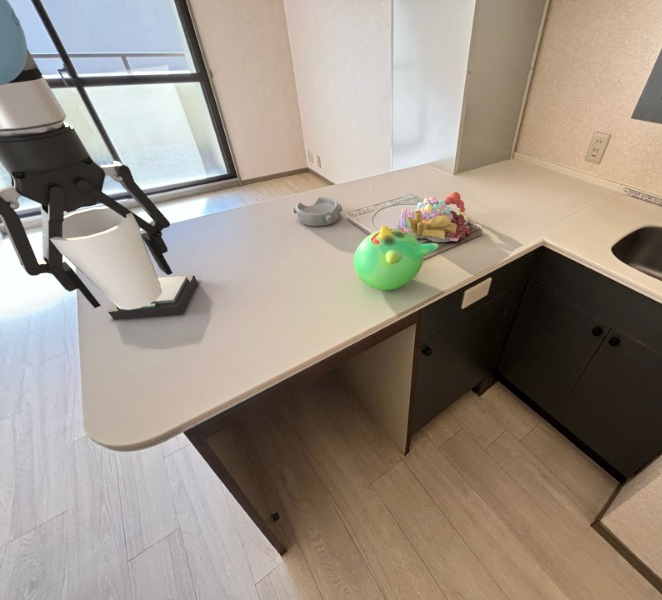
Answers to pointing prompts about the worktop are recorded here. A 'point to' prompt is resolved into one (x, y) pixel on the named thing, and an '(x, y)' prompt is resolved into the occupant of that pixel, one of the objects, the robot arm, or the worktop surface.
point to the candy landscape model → (437, 220)
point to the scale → (162, 299)
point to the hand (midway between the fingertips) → (132, 286)
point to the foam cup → (110, 255)
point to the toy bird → (390, 258)
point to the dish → (319, 212)
